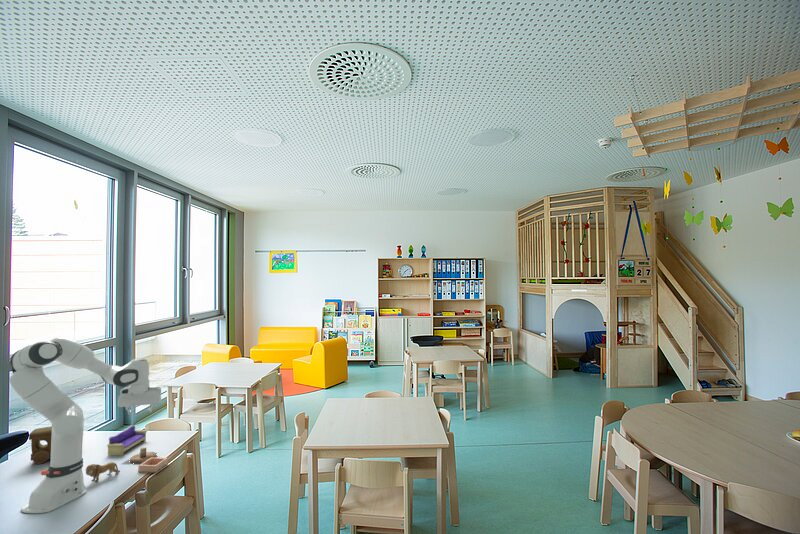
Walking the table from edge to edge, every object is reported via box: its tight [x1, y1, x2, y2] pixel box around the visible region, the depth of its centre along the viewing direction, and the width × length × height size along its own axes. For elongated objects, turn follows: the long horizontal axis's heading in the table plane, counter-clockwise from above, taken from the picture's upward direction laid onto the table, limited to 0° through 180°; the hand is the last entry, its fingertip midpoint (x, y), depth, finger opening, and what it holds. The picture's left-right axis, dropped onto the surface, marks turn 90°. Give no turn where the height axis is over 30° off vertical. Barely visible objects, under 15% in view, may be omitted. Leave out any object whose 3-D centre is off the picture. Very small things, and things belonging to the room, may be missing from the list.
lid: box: [129, 446, 157, 464], centre depth 210 cm, size 12×12×5 cm
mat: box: [121, 452, 159, 466], centre depth 210 cm, size 14×14×1 cm
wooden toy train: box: [28, 425, 52, 465], centre depth 211 cm, size 20×11×17 cm, turn 119°
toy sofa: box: [106, 424, 147, 456], centre depth 224 cm, size 21×9×10 cm, turn 0°
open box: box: [137, 457, 169, 474], centre depth 199 cm, size 9×9×4 cm
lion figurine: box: [85, 461, 121, 483], centre depth 190 cm, size 15×5×9 cm, turn 151°
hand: (139, 413), depth 211 cm, fingers open, 8 cm apart
